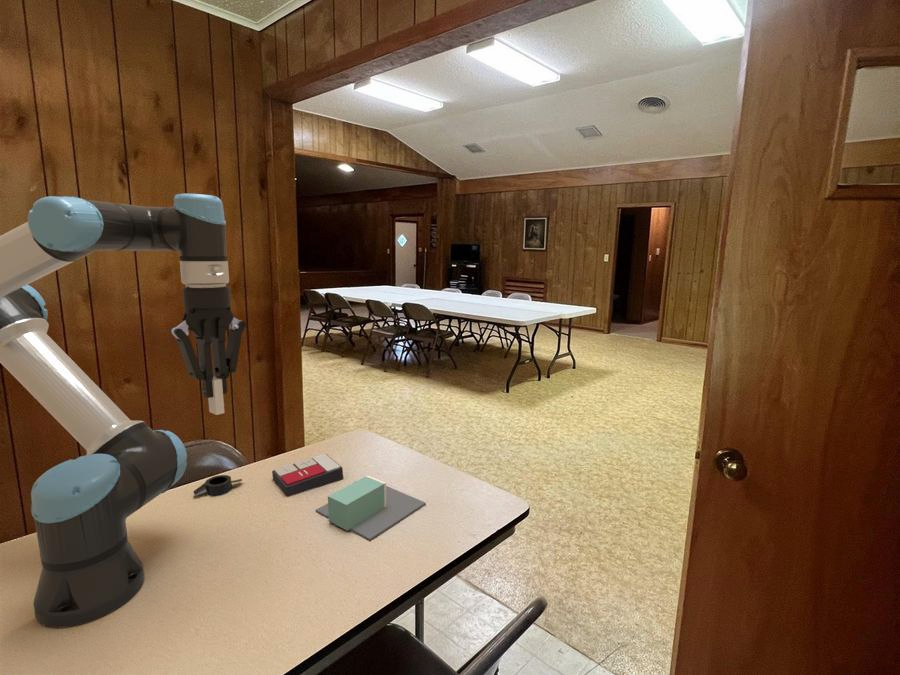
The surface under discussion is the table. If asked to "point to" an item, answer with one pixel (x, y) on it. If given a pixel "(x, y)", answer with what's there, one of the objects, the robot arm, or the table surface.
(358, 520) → the block
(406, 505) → the mat
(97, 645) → the table surface
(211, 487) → the black ring with arms
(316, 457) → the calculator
